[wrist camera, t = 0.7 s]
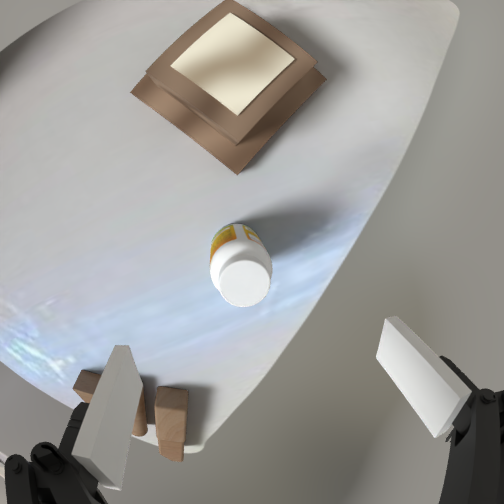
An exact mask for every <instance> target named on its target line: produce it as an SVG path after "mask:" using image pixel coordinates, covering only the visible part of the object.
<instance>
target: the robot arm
mask: <svg viewBox="0 0 504 504" xmlns="http://www.w3.org/2000/svg"><path fill="white" fill-rule="evenodd" d="M376 358H377V359H378V361H379V362H380V363H381V365H382V366H383V368H384V369H385V370H386V371H387V373H388V374H389V376H390V377H391V378H392V379H393V381H394V382H395V384H396V385H397V386H398V388H399V389H400V390H401V392H402V393H403V395H404V396H405V397H406V399H407V400H408V401H409V403H410V404H411V405H412V407H413V408H414V410H415V411H416V413H417V414H418V415H419V417H420V418H421V419H422V421H423V422H424V424H425V425H426V427H427V428H428V429H429V431H430V432H431V434H432V435H433V437H434V438H436V437H438V436H440V435H441V434H443V433H445V432H446V431H447V430H448V428H449V427H450V426H451V424H453V426H454V429H453V430H452V431H451V433H450V434H449V436H448V437H447V438H446V442H447V441H448V440H449V439H450V438H451V441H450V442H451V446H450V453H449V459H448V465H447V470H446V476H445V480H444V485H443V489H442V493H441V497H440V501H439V504H504V390H503V391H500V392H495V393H494V392H493V391H492V390H490V389H481V390H479V389H478V388H477V387H476V386H475V385H474V384H473V383H472V382H471V381H470V380H469V379H468V377H467V376H466V375H465V374H464V373H463V372H461V370H460V369H459V368H458V367H456V365H455V364H454V363H453V362H452V361H451V360H449V359H447V358H446V357H444V356H440V357H438V356H437V355H436V354H435V353H434V352H433V351H432V350H431V349H430V348H429V347H428V346H427V345H426V344H425V343H424V342H423V341H422V340H421V339H420V338H419V337H418V336H417V335H416V334H415V333H414V332H413V331H412V330H411V329H410V328H409V327H408V326H407V325H406V324H405V323H404V322H403V321H402V320H401V319H400V318H398V317H397V316H393V317H389V318H386V319H385V322H384V327H383V331H382V336H381V340H380V344H379V348H378V352H377V355H376ZM142 388H143V383H142V381H141V378H140V376H139V373H138V370H137V368H136V365H135V362H134V359H133V356H132V353H131V350H130V347H129V345H115V347H114V349H113V351H112V353H111V355H110V357H109V360H108V362H107V364H106V366H105V369H104V371H103V373H102V375H101V378H100V380H99V382H98V385H97V387H96V390H95V392H94V394H93V397H92V399H91V402H90V403H85V402H81V403H80V404H79V405H78V406H77V407H76V408H75V409H74V411H73V413H72V415H71V418H70V419H71V420H69V423H68V425H67V426H68V427H67V428H66V430H65V433H64V435H63V438H62V441H61V443H60V446H59V448H58V449H57V447H56V446H55V445H53V444H51V443H49V442H42V443H39V444H37V445H36V446H35V447H34V448H33V449H32V451H31V455H30V456H31V461H32V462H28V461H27V460H26V459H25V458H24V457H22V456H21V455H17V454H14V455H11V456H10V457H8V458H7V460H6V462H5V485H6V496H7V504H108V503H107V501H106V500H105V498H104V497H103V495H102V494H101V492H100V491H99V490H98V488H97V486H98V482H99V483H100V484H102V485H103V486H104V487H106V488H111V489H116V490H121V488H122V482H123V476H124V471H125V465H126V460H127V454H128V449H129V444H130V440H131V435H132V430H133V426H134V421H135V417H136V412H137V408H138V404H139V400H140V396H141V392H142ZM451 436H452V437H451Z"/></svg>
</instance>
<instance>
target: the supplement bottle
mask: <svg viewBox="0 0 504 504" xmlns="http://www.w3.org/2000/svg"><path fill="white" fill-rule="evenodd" d="M210 274H211V279H212V281H213V283H214V285H215V287H216V288H217V289H218V290H219V291H220V293H221V295H222V296H223V298H224V299H225V300H226V301H227V302H229V303H230V304H232V305H235V306H238V307H248V306H252V305H255V304H257V303H259V302H260V301H262V300H263V299H264V298H265V296H266V295H267V293H268V291H269V289H270V283H271V282H270V279H271V276H272V262H271V259H270V256H269V254H268V252H267V251H266V249H265V247H264V245H263V244H262V242H261V240H260V238H259V237H258V235H257V234H256V233H255V231H254V230H252V229H251V228H250V227H248V226H246V225H243V224H230V225H227V226H225V227H223V228H222V229H220V230H219V231H218V232H217V233H216V234H215V236H214V238H213V240H212V244H211V255H210Z"/></svg>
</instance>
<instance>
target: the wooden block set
mask: <svg viewBox="0 0 504 504" xmlns="http://www.w3.org/2000/svg"><path fill="white" fill-rule="evenodd" d="M100 378H101V375H100V374H96V373H92V372H88V371H85V370H81V372H80V374H79V376H78V378H77V380H76V382H75V384H74V387H73V390H74V391H75V392H76V393H77V394H78V395H79V396H80V397H81V398H82V399H83V400H84V401H85V402H86V403H90V402H91V399H92V397H93V394H94V392H95V390H96V387H97V385H98V382H99V380H100ZM154 409H155V423H156V434H157V438H158V444H159V453H160V454H161V455H162V456H164V457H166V458H168V459H170V460H172V461H179V462H182V461H183V457H184V442H185V441H186V426H187V410H188V391H187V390H184V389H176V388H169V387H162V386H158V388H157V393H156V399H155V405H154ZM147 431H148V428H147V420H146V410H145V400H144V388H142V392H141V396H140V400H139V404H138V408H137V412H136V417H135V421H134V426H133V430H132V434H133V435H135V436H144V435H145V434H146V433H147Z"/></svg>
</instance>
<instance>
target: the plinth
mask: <svg viewBox="0 0 504 504" xmlns="http://www.w3.org/2000/svg"><path fill="white" fill-rule="evenodd" d="M316 63H317V61H316V60H315V59H314V58H313V57H312V56H310V55H309V54H308V53H307V52H306V51H305V50H303V49H302V48H301V47H300V46H298V45H297V44H296V43H295V42H293V41H292V40H291V39H290V38H288V37H287V36H286V35H284V34H283V33H282V32H280V31H279V30H278V29H276V28H275V27H274V26H272V25H271V24H269V23H268V22H267V21H265V20H264V19H262V18H261V17H259V16H258V15H256V14H255V13H253V12H252V11H250V10H248V9H247V8H245V7H244V6H242V5H240V4H239V3H237V2H236V1H234V0H225V1H223V2H222V3H220V4H219V5H218V6H216V7H215V8H214V9H213V10H211V11H210V12H209V13H207V14H206V15H205V16H204V17H202V18H201V19H200V20H199V21H198V22H196V23H195V24H194V25H193V26H192V27H191V28H189V29H188V30H187V31H186V32H185V33H184V34H183V35H182V36H180V37H179V38H178V39H177V40H176V41H175V42H174V43H173V44H172V45H171V46H170V47H169V48H168V49H167V50H166V51H165V52H164V53H163V54H162V55H161V56H160V57H159V58H158V59H157V60H156V61H155V62H154V63H153V64H152V65H151V66H150V67H149V68H148V69H147V70H146V71H145V72H146V73H147V74H146V75H145V76H144V77H143V78H142V79H141V80H140V82H139V83H138V84H137V85H136V86H135V87H134V88H133V90H132V91H131V92H130V93H132V94H133V95H134V96H135V97H137V98H138V99H140V100H141V101H142V102H144V103H145V104H146V105H148V106H149V107H151V108H152V109H153V110H155V111H156V112H157V113H159V114H160V115H161V116H163V117H164V118H165V119H167V120H168V121H169V122H171V123H172V124H173V125H175V126H176V127H177V128H179V129H180V130H181V131H182V132H184V133H185V134H186V135H188V136H189V137H190V138H192V139H193V140H194V141H195V142H197V143H198V144H199V145H200V146H202V147H203V148H204V149H206V150H207V151H208V152H209V153H211V154H212V155H213V156H214V157H216V158H217V159H218V160H219V161H220V162H222V163H223V164H224V165H225V166H227V167H228V168H229V169H230V170H232V171H233V172H234V173H235V174H236V175H238V174H239V173H240V172H241V171H242V169H243V168H244V167H245V166H246V165H247V164H248V162H249V161H250V160H251V159H252V158H253V157H254V156H255V155H256V153H257V152H258V151H259V150H260V149H261V148H262V147H263V146H264V144H265V143H266V142H267V141H268V140H269V139H270V138H271V137H272V136H273V135H274V134H275V132H276V131H277V130H278V129H279V128H280V127H281V126H282V125H283V124H284V123H285V122H286V121H287V120H288V118H289V117H290V116H291V115H292V114H293V113H294V112H295V111H296V110H297V109H298V108H299V107H300V106H301V105H302V104H303V103H304V102H305V101H306V100H307V99H308V98H309V97H310V96H311V95H312V94H313V93H314V92H315V91H316V90H317V89H318V88H319V87H320V86H321V85H322V84H323V83H324V82H325V81H326V80H327V79H326V78H325V77H324V76H323V75H322V74H321V73H320V72H318V71H317V70H316V69H315V68H314V67H313V66H314V65H315V64H316Z"/></svg>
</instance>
